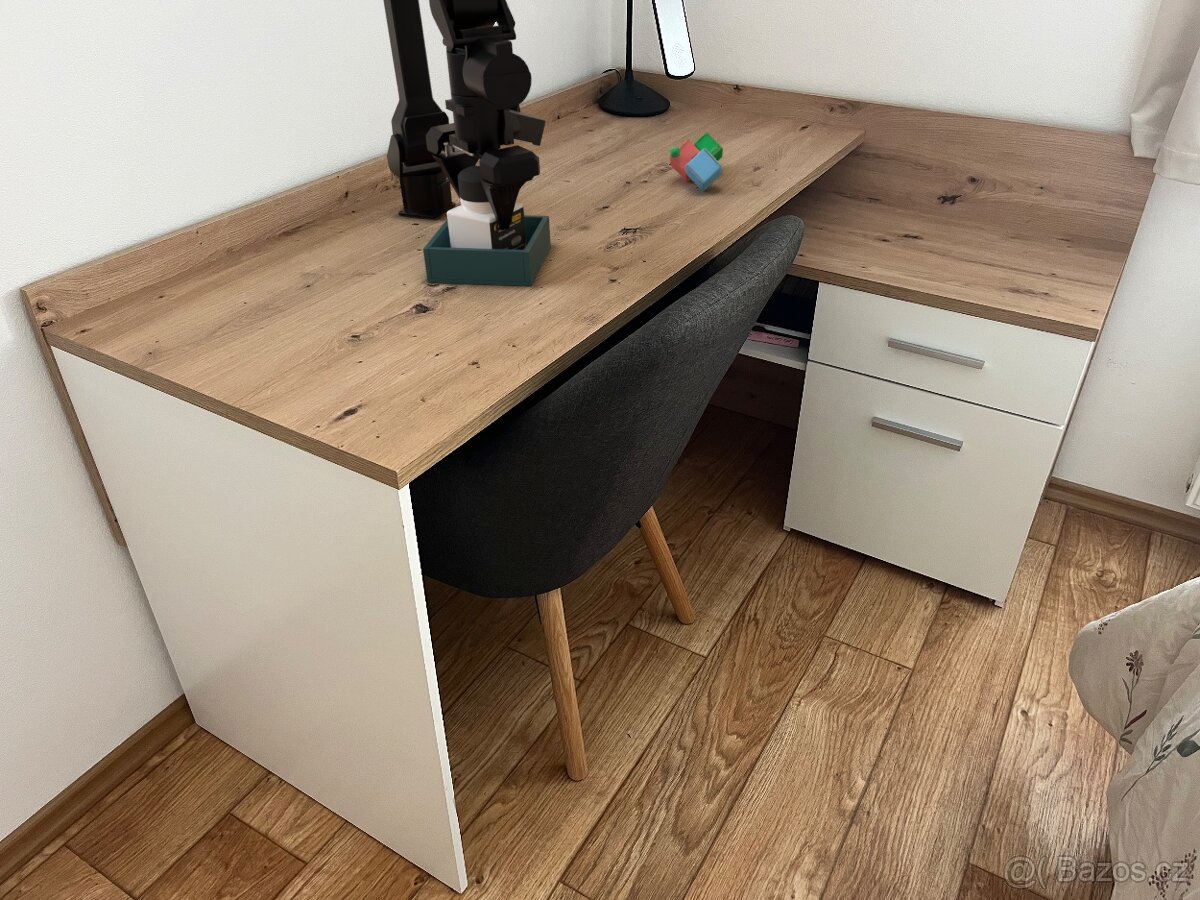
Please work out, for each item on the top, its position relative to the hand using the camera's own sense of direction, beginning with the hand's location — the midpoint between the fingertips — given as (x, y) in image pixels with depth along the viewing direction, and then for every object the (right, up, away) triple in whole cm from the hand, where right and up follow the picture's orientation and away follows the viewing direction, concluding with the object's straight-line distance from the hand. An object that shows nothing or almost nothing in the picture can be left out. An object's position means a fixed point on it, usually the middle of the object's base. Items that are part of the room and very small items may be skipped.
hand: (487, 219), depth 120 cm
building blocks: (+31, +13, +30) cm, 45 cm away
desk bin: (0, -5, +3) cm, 6 cm away
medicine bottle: (0, -5, +3) cm, 6 cm away
